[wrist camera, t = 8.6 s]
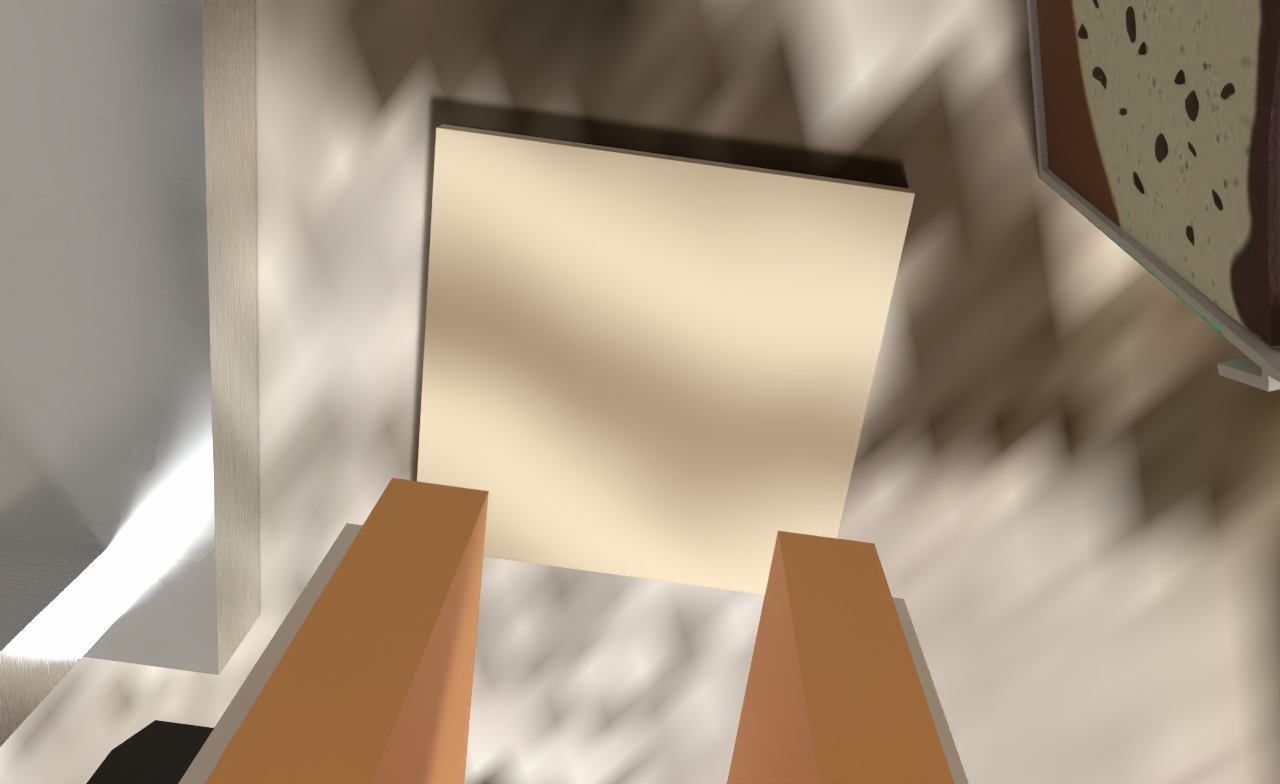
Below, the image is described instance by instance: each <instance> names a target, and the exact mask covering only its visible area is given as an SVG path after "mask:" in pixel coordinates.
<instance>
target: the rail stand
mask: <svg viewBox="0 0 1280 784" xmlns="http://www.w3.org/2000/svg"><path fill="white" fill-rule="evenodd" d="M259 616H260V574H259V452H258V330H257V208H256V86H255V0H0V747H1V745H2V744H3V743H4V742H5V741H6V740H7V739H8V738H9V737H10V736H11V734H12V733H13V732H14V731H15V730H16V729H17V728H18V727H19V726H20V725H21V723H22V722H23V721H24V720H25V719H26V718H27V717H28V716H29V715H30V714H31V712H32V711H33V710H34V709H35V708H36V707H37V706H38V705H39V704H40V703H41V701H42V700H43V699H44V698H45V697H46V696H47V695H48V694H49V693H50V692H51V690H52V689H53V688H54V687H55V686H56V685H57V684H58V683H59V682H60V681H61V679H62V678H63V677H64V676H65V675H66V674H67V673H68V672H69V671H70V669H71V668H72V667H73V666H74V665H75V664H76V663H77V662H78V661H79V660H80V658H81V657H82V656H83V657H90V658H98V659H105V660H112V661H120V662H127V663H135V664H142V665H149V666H157V667H164V668H171V669H179V670H186V671H194V672H201V673H208V674H216V675H219V674H220V672H221V671H222V669H223V668H224V667H225V665H226V664H227V662H228V661H229V659H230V658H231V656H232V655H233V653H234V652H235V651H236V649H237V648H238V646H239V645H240V643H241V642H242V640H243V639H244V637H245V636H246V634H247V633H248V632H249V630H250V629H251V627H252V626H253V624H254V623H255V621H256V620H257V618H258V617H259Z"/></svg>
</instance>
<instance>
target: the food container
mask: <svg viewBox="0 0 1280 784" xmlns="http://www.w3.org/2000/svg"><path fill="white" fill-rule="evenodd" d="M1026 6H1027V20H1028V33H1029V47H1030V60H1031V73H1032V87H1033V100H1034V114H1035V127H1036V140H1037V154H1038V167H1039V178H1040V179H1041V180H1043V181H1044V182H1045V183H1046V184H1047V185H1048V186H1050V187H1051V188H1052V189H1053V190H1054V191H1055V192H1057V193H1058V194H1059V195H1060V196H1061V197H1062V198H1064V199H1065V200H1066V201H1067V202H1068V203H1069V204H1070V205H1072V206H1073V207H1074V208H1075V209H1076V210H1077V211H1079V212H1080V213H1081V214H1082V215H1083V216H1084V217H1086V218H1087V219H1088V220H1089V221H1090V222H1091V223H1093V224H1094V225H1095V226H1096V227H1097V228H1098V229H1100V230H1101V231H1102V232H1103V233H1104V234H1105V235H1107V236H1108V237H1109V238H1110V239H1111V240H1112V241H1114V242H1115V243H1116V244H1117V245H1118V246H1119V247H1121V248H1122V249H1123V250H1124V251H1125V252H1126V253H1128V254H1129V255H1130V256H1131V257H1132V258H1133V259H1135V260H1136V261H1137V262H1138V263H1139V264H1140V265H1142V266H1143V267H1144V268H1145V269H1146V270H1147V271H1149V272H1150V273H1151V274H1152V275H1153V276H1154V277H1156V278H1157V279H1158V280H1159V281H1160V282H1161V283H1163V284H1164V285H1165V286H1166V287H1167V288H1168V289H1170V290H1171V291H1172V292H1173V293H1174V294H1175V295H1177V296H1178V297H1179V298H1180V299H1181V300H1182V301H1184V302H1185V303H1186V304H1187V305H1188V306H1189V307H1191V308H1192V309H1193V310H1194V311H1195V312H1196V313H1197V314H1199V315H1200V316H1201V317H1202V318H1203V319H1204V320H1206V321H1207V322H1208V323H1209V324H1210V325H1211V326H1213V327H1214V328H1215V329H1216V330H1217V331H1218V332H1220V333H1221V334H1222V335H1223V336H1224V337H1225V338H1227V339H1228V340H1229V341H1230V342H1231V343H1232V344H1234V345H1235V346H1236V347H1237V348H1238V349H1239V350H1241V351H1242V352H1243V353H1244V354H1245V355H1246V357H1242V358H1238V359H1234V360H1230V361H1226V362H1222V363H1218V371H1219V375H1221V376H1224V377H1227V378H1230V379H1233V380H1236V381H1239V382H1242V383H1245V384H1248V385H1251V386H1253V387H1256V388H1259V389H1262V390H1265V391H1268V392H1269V391H1273V390H1278V389H1280V0H1026Z"/></svg>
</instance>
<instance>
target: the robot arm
mask: <svg viewBox="0 0 1280 784" xmlns="http://www.w3.org/2000/svg"><path fill="white" fill-rule="evenodd" d="M362 526H363V525H355V524H348V523H347V524H346V525H345V527H344V528H343V530H342V531H341V533H340V535H339V536H338V538H337V539H336V541H335V542H334V544H333V545H332V547H331V548H330V550H329V552H328V553H327V555H326V556H325V558H324V559H323V561H322V562H321V564H320V565H319V567H318V569H317V570H316V572H315V573H314V575H313V576H312V578H311V579H310V581H309V582H308V584H307V586H306V587H305V589H304V590H303V592H302V593H301V595H300V596H299V598H298V599H297V601H296V603H295V604H294V606H293V607H292V609H291V610H290V612H289V613H288V615H287V616H286V618H285V620H284V621H283V623H282V624H281V626H280V627H279V629H278V630H277V632H276V633H275V635H274V637H273V638H272V640H271V641H270V643H269V644H268V646H267V647H266V649H265V651H264V652H263V654H262V655H261V657H260V658H259V660H258V661H257V663H256V664H255V666H254V668H253V669H252V671H251V672H250V674H249V675H248V677H247V678H246V680H245V681H244V683H243V685H242V686H241V688H240V689H239V691H238V692H237V694H236V695H235V697H234V698H233V700H232V702H231V703H230V705H229V706H228V708H227V709H226V711H225V712H224V714H223V715H222V717H221V719H220V720H219V722H218V723H217V725H216V726H215V728H209V727H202V726H194V725H187V724H179V723H172V722H165V721H157V720H155V721H154V722H152V723H151V724H149V725H148V726H146V727H145V728H144V729H142V730H141V731H139V732H138V733H136V734H135V735H133V736H132V737H130V738H129V739H127V740H126V741H125V742H123V743H122V744H120V745H119V746H117V747H116V748H114V749H113V750H112V751H111V752H110V753H109V755H108V756H107V757H106V759H105V760H104V761H103V762H102V764H101V765H100V766H99V768H98V769H97V770H96V772H95V773H94V774H93V776H92V777H91V778H90V780H89V781H88V782H87V783H86V784H205V782H206V780H207V779H208V777H209V775H210V774H211V772H212V771H213V769H214V767H215V766H216V764H217V762H218V761H219V759H220V758H221V756H222V754H223V753H224V751H225V749H226V748H227V746H228V745H229V743H230V741H231V740H232V738H233V736H234V735H235V733H236V732H237V730H238V728H239V727H240V725H241V723H242V722H243V720H244V718H245V717H246V715H247V714H248V712H249V710H250V709H251V707H252V705H253V704H254V702H255V701H256V699H257V697H258V696H259V694H260V692H261V691H262V689H263V688H264V686H265V684H266V683H267V681H268V679H269V678H270V676H271V675H272V673H273V671H274V670H275V668H276V666H277V665H278V663H279V662H280V660H281V658H282V657H283V655H284V653H285V652H286V650H287V648H288V647H289V645H290V644H291V642H292V640H293V639H294V637H295V635H296V634H297V632H298V631H299V629H300V627H301V626H302V624H303V622H304V621H305V619H306V618H307V616H308V614H309V613H310V611H311V609H312V608H313V606H314V605H315V603H316V601H317V600H318V598H319V596H320V595H321V593H322V592H323V590H324V588H325V587H326V585H327V583H328V582H329V580H330V578H331V577H332V575H333V574H334V572H335V570H336V569H337V567H338V565H339V564H340V562H341V561H342V559H343V557H344V556H345V554H346V552H347V551H348V549H349V548H350V546H351V544H352V543H353V541H354V539H355V538H356V536H357V535H358V533H359V531H360V530H361V528H362ZM893 601H894V604H895V607H896V610H897V613H898V616H899V619H900V622H901V625H902V628H903V631H904V634H905V637H906V640H907V643H908V646H909V649H910V652H911V655H912V658H913V661H914V664H915V667H916V670H917V673H918V676H919V679H920V682H921V685H922V688H923V691H924V694H925V697H926V700H927V703H928V706H929V709H930V712H931V715H932V718H933V721H934V724H935V727H936V730H937V733H938V736H939V739H940V742H941V745H942V748H943V751H944V754H945V757H946V760H947V763H948V766H949V769H950V772H951V775H952V778H953V781H954V784H969V783H968V780H967V778H966V775H965V772H964V769H963V766H962V763H961V761H960V758H959V755H958V752H957V749H956V746H955V743H954V741H953V738H952V735H951V732H950V729H949V726H948V724H947V721H946V718H945V715H944V712H943V709H942V706H941V704H940V701H939V698H938V695H937V692H936V689H935V687H934V684H933V681H932V678H931V675H930V672H929V669H928V667H927V664H926V661H925V658H924V655H923V652H922V650H921V647H920V644H919V641H918V638H917V635H916V632H915V630H914V627H913V624H912V621H911V618H910V615H909V613H908V610H907V607H906V604H905V601H904V599H899V598H893Z"/></svg>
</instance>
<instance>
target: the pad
mask: <svg viewBox="0 0 1280 784" xmlns="http://www.w3.org/2000/svg"><path fill="white" fill-rule="evenodd" d="M914 196H915V193H914V192H913V191H912V190H911V189H909V188H903V187H896V186H889V185H881V184H874V183H867V182H860V181H852V180H845V179H838V178H830V177H823V176H816V175H809V174H801V173H794V172H787V171H780V170H772V169H765V168H758V167H751V166H743V165H736V164H729V163H722V162H714V161H707V160H700V159H693V158H685V157H678V156H671V155H664V154H656V153H649V152H642V151H634V150H627V149H620V148H613V147H605V146H598V145H591V144H584V143H576V142H569V141H562V140H555V139H547V138H540V137H533V136H526V135H518V134H511V133H504V132H497V131H489V130H482V129H475V128H468V127H460V126H453V125H446V124H442V125H440V126H438V127H437V128H436V141H435V160H434V178H433V196H432V215H431V233H430V251H429V269H428V288H427V306H426V324H425V343H424V361H423V379H422V397H421V416H420V434H419V452H418V471H417V481H418V482H425V483H432V484H440V485H447V486H455V487H462V488H469V489H477V490H484V491H489V494H488V506H487V518H486V530H485V541H484V553H483V556H484V557H491V558H499V559H506V560H513V561H521V562H528V563H536V564H543V565H550V566H558V567H565V568H572V569H580V570H587V571H594V572H602V573H609V574H616V575H624V576H631V577H638V578H646V579H653V580H660V581H668V582H675V583H682V584H690V585H697V586H705V587H712V588H719V589H727V590H734V591H741V592H749V593H756V594H763V595H765V592H766V587H767V582H768V578H769V573H770V568H771V563H772V558H773V553H774V548H775V543H776V538H777V533H778V531H785V532H792V533H800V534H807V535H814V536H822V537H829V538H836V539H837V535H838V531H839V527H840V522H841V518H842V513H843V509H844V504H845V500H846V496H847V491H848V487H849V482H850V478H851V474H852V469H853V465H854V460H855V456H856V452H857V447H858V443H859V438H860V434H861V430H862V425H863V421H864V416H865V412H866V407H867V403H868V399H869V394H870V390H871V385H872V381H873V377H874V372H875V368H876V363H877V359H878V355H879V350H880V346H881V341H882V337H883V332H884V328H885V324H886V319H887V315H888V310H889V306H890V302H891V297H892V293H893V288H894V284H895V280H896V275H897V271H898V266H899V262H900V257H901V253H902V249H903V244H904V240H905V235H906V231H907V227H908V222H909V218H910V213H911V209H912V205H913V200H914Z"/></svg>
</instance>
